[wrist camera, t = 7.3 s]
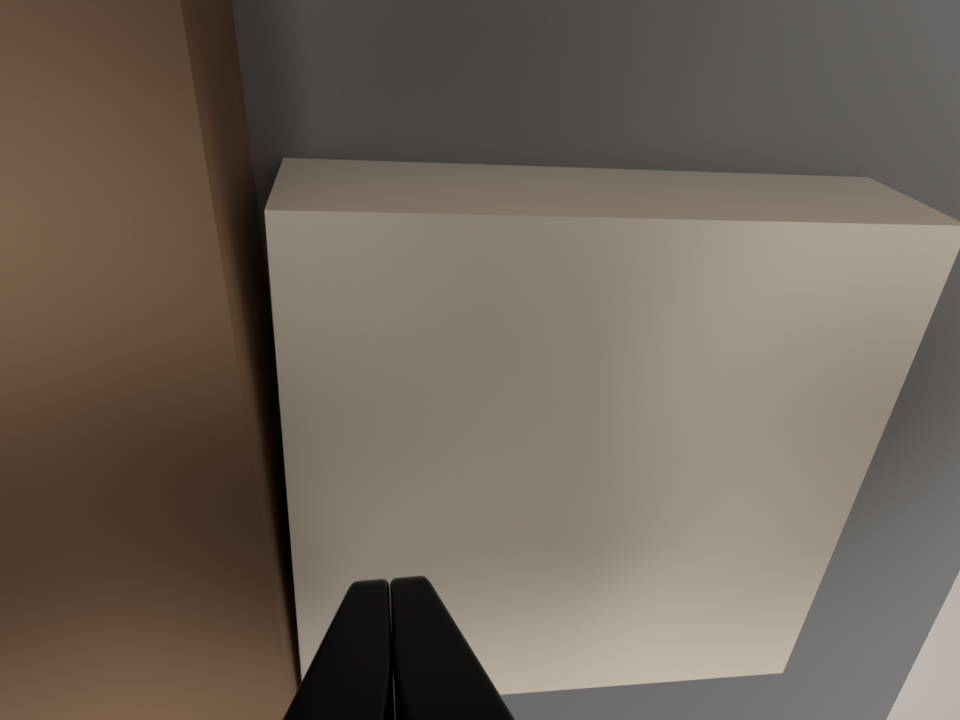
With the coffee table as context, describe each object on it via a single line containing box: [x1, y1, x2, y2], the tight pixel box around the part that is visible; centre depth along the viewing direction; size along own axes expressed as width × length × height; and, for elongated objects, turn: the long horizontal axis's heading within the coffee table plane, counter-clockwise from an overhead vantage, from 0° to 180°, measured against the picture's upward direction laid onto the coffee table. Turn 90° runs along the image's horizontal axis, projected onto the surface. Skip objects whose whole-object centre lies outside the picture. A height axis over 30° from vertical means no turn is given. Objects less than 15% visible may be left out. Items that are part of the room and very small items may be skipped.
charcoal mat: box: [232, 0, 960, 720], centre depth 12 cm, size 20×13×1 cm, turn 178°
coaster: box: [264, 158, 960, 703], centre depth 11 cm, size 8×8×2 cm
